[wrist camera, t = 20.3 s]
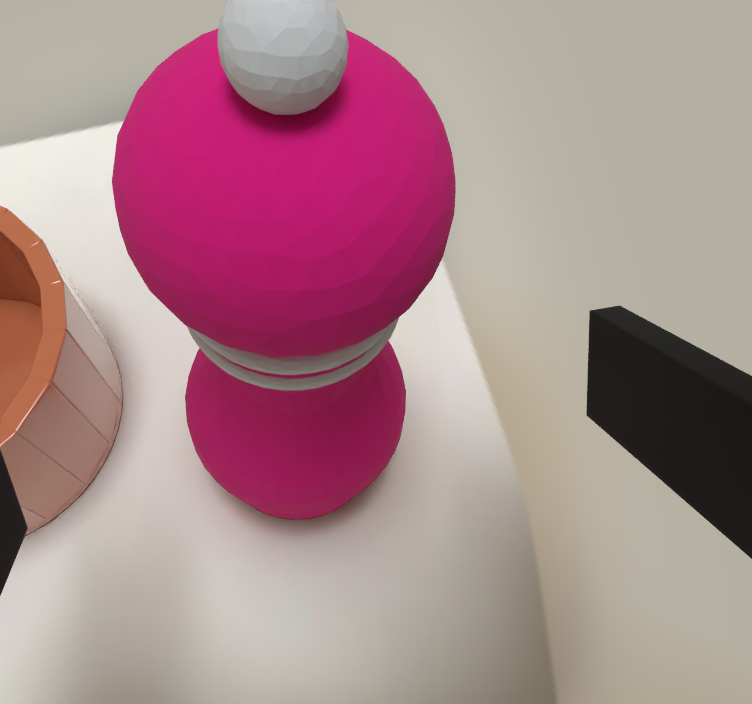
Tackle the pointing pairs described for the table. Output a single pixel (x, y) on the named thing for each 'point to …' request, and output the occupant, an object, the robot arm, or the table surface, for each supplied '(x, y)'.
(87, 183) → the table surface
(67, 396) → the crock
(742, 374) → the robot arm
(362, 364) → the pepper mill
